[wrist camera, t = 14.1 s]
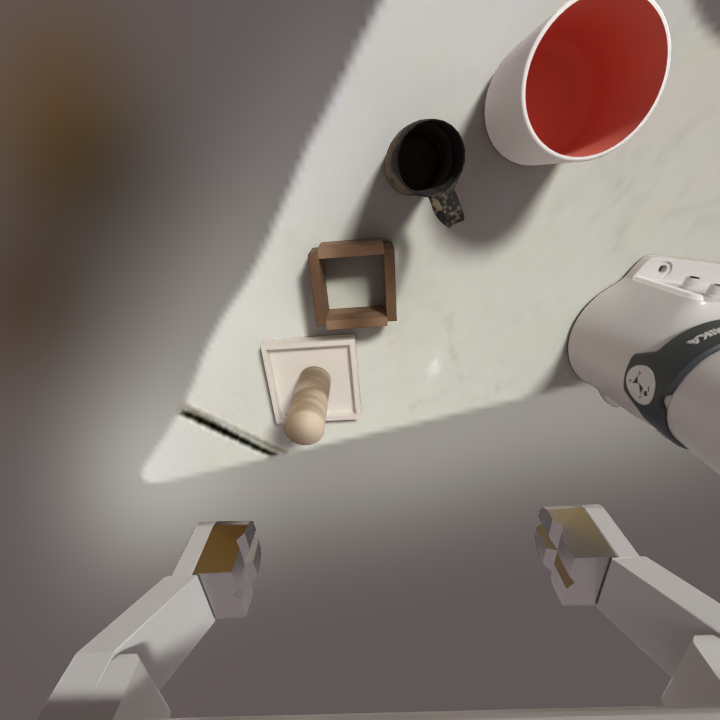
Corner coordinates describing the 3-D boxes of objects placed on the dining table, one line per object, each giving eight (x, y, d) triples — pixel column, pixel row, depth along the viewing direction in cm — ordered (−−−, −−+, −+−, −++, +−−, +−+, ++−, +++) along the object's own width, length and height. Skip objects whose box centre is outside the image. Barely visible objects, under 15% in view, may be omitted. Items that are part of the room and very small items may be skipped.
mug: (373, 149, 36) (378, 137, 26) (426, 118, 35) (453, 91, 24) (408, 225, 39) (425, 243, 29) (457, 199, 38) (494, 206, 27)
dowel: (329, 365, 46) (321, 411, 37) (332, 393, 47) (326, 444, 38) (296, 367, 46) (281, 413, 37) (301, 395, 48) (287, 445, 39)
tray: (354, 333, 45) (354, 339, 43) (361, 411, 50) (361, 418, 48) (264, 339, 45) (260, 345, 44) (279, 415, 50) (276, 423, 48)
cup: (580, 161, 37) (651, 155, 28) (477, 170, 37) (514, 167, 28) (600, 30, 32) (691, -27, 23) (483, 43, 33) (529, -9, 24)
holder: (391, 237, 40) (394, 242, 36) (394, 313, 44) (396, 325, 40) (312, 243, 40) (307, 249, 37) (321, 318, 44) (317, 330, 40)
